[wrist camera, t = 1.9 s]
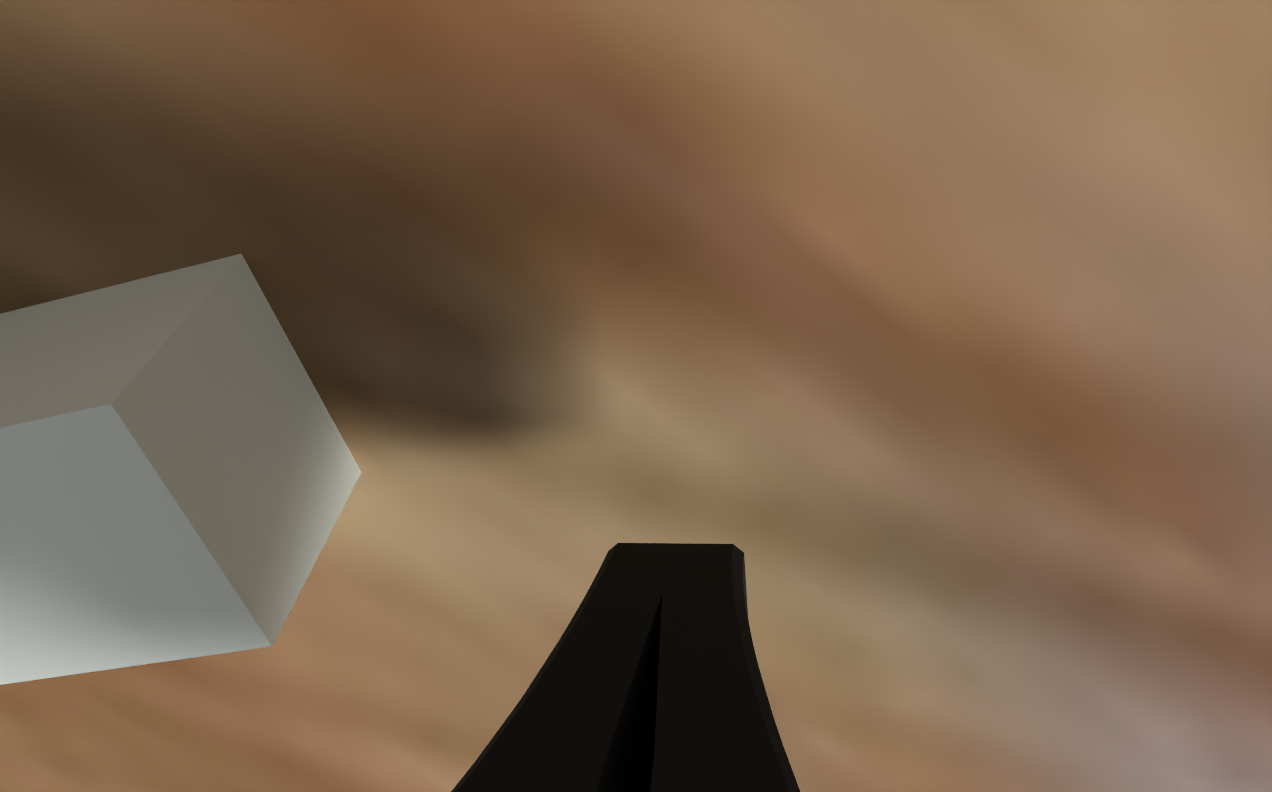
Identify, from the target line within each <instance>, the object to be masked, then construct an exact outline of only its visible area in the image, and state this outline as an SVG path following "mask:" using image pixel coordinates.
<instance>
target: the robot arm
mask: <svg viewBox="0 0 1272 792" xmlns="http://www.w3.org/2000/svg"><path fill="white" fill-rule="evenodd" d="M451 792H800V789H799V787H798V784H797V782H796V779H795V776H794V774H793V771H792V768H791V766H790V763H789V760H788V758H787V755H786V752H785V750H784V747H783V744H782V741H781V738H780V735H779V732H778V729H777V726H776V723H775V720H774V717H773V714H772V711H771V708H770V704H769V701H768V697H767V694H766V691H765V687H764V684H763V680H762V677H761V674H760V670H759V667H758V663H757V659H756V655H755V651H754V647H753V642H752V637H751V632H750V627H749V622H748V610H747V594H746V578H745V562H744V553H743V552H742V551H741V550H740V549H738V548H737V547H736V546H735V545H733V544H668V543H617V544H616V545H615V546H614V547H613V548H612V549H610V550H609V551H608V553H607V555H606V557H605V559H604V561H603V563H602V565H601V567H600V569H599V571H598V573H597V575H596V577H595V579H594V581H593V583H592V585H591V586H590V588H589V590H588V592H587V594H586V596H585V597H584V599H583V601H582V603H581V604H580V606H579V608H578V610H577V611H576V613H575V615H574V617H573V618H572V620H571V622H570V623H569V625H568V627H567V628H566V630H565V632H564V633H563V635H562V637H561V638H560V640H559V642H558V643H557V645H556V646H555V648H554V649H553V651H552V652H551V654H550V655H549V657H548V659H547V660H546V662H545V663H544V665H543V666H542V668H541V669H540V671H539V672H538V674H537V675H536V677H535V679H534V680H533V682H532V683H531V685H530V686H529V688H528V689H527V691H526V692H525V694H524V695H523V697H522V698H521V700H520V701H519V703H518V704H517V705H516V707H515V708H514V710H513V711H512V712H511V714H510V715H509V716H508V718H507V719H506V720H505V722H504V723H503V725H502V726H501V727H500V729H499V730H498V731H497V733H496V734H495V735H494V737H493V738H492V739H491V741H490V742H489V744H488V745H487V746H486V748H485V749H484V750H483V752H482V753H481V754H480V756H479V757H478V759H477V760H476V761H475V762H474V764H473V765H472V766H471V768H470V769H469V770H468V771H467V773H466V774H465V775H464V776H463V778H462V779H461V780H460V781H459V783H458V784H457V785H456V786H455V788H454V789H453V790H452V791H451Z"/></svg>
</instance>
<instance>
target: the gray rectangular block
mask: <svg viewBox="0 0 1272 792" xmlns="http://www.w3.org/2000/svg"><path fill="white" fill-rule="evenodd" d="M360 474H361V471H360V469H359V467H358V465H357V464H356V462H355V460H354V458H353V456H352V454H351V453H350V451H349V449H348V447H347V445H346V444H345V442H344V440H343V438H342V436H341V434H340V433H339V431H338V429H337V427H336V425H335V423H334V422H333V420H332V418H331V416H330V414H329V413H328V411H327V409H326V407H325V405H324V403H323V402H322V400H321V398H320V396H319V394H318V392H317V391H316V389H315V387H314V385H313V383H312V381H311V380H310V378H309V376H308V374H307V372H306V371H305V369H304V367H303V365H302V363H301V361H300V360H299V358H298V356H297V354H296V352H295V350H294V349H293V347H292V345H291V343H290V341H289V339H288V338H287V336H286V334H285V332H284V330H283V329H282V327H281V325H280V323H279V321H278V319H277V318H276V316H275V314H274V312H273V310H272V308H271V307H270V305H269V303H268V301H267V299H266V297H265V296H264V294H263V292H262V290H261V288H260V287H259V285H258V283H257V281H256V279H255V277H254V276H253V274H252V272H251V270H250V268H249V266H248V265H247V263H246V261H245V259H244V257H243V256H242V254H237V255H233V256H229V257H225V258H221V259H217V260H213V261H209V262H205V263H201V264H197V265H193V266H189V267H185V268H181V269H177V270H173V271H169V272H165V273H161V274H157V275H153V276H149V277H145V278H141V279H137V280H133V281H129V282H125V283H121V284H117V285H113V286H109V287H105V288H101V289H97V290H93V291H89V292H85V293H81V294H77V295H73V296H69V297H65V298H61V299H57V300H53V301H49V302H45V303H41V304H37V305H33V306H29V307H25V308H21V309H17V310H13V311H9V312H5V313H1V314H0V685H1V684H8V683H16V682H23V681H30V680H37V679H44V678H51V677H58V676H65V675H72V674H79V673H87V672H94V671H101V670H108V669H115V668H122V667H129V666H136V665H143V664H150V663H158V662H165V661H172V660H179V659H186V658H193V657H200V656H207V655H214V654H221V653H229V652H236V651H243V650H250V649H257V648H264V647H271V646H273V644H274V642H275V640H276V638H277V636H278V634H279V632H280V630H281V628H282V626H283V624H284V622H285V620H286V619H287V617H288V615H289V613H290V611H291V609H292V607H293V605H294V603H295V601H296V599H297V597H298V595H299V593H300V591H301V589H302V587H303V585H304V583H305V581H306V580H307V578H308V576H309V574H310V572H311V570H312V568H313V566H314V564H315V562H316V560H317V558H318V556H319V554H320V552H321V550H322V548H323V546H324V544H325V542H326V541H327V539H328V537H329V535H330V533H331V531H332V529H333V527H334V525H335V523H336V521H337V519H338V517H339V515H340V513H341V511H342V509H343V507H344V505H345V503H346V502H347V500H348V498H349V496H350V494H351V492H352V490H353V488H354V486H355V484H356V482H357V480H358V478H359V476H360Z"/></svg>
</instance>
